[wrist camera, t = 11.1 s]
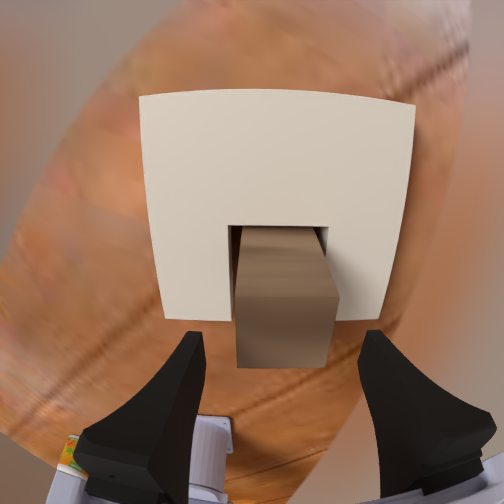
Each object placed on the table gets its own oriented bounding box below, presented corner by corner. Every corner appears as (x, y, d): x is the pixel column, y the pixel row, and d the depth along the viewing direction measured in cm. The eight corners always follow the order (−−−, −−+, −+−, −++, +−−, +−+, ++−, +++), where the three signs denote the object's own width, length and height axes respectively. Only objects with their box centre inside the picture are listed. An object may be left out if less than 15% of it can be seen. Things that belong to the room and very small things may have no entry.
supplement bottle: (95, 441, 38) (79, 489, 29) (99, 453, 40) (85, 497, 32) (66, 430, 37) (48, 476, 29) (72, 442, 40) (56, 485, 31)
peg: (304, 274, 23) (324, 367, 15) (244, 274, 23) (237, 367, 15) (309, 218, 21) (339, 296, 13) (243, 217, 21) (234, 296, 13)
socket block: (369, 299, 24) (378, 318, 21) (172, 298, 24) (165, 318, 22) (398, 104, 17) (415, 105, 15) (153, 96, 17) (139, 96, 15)
